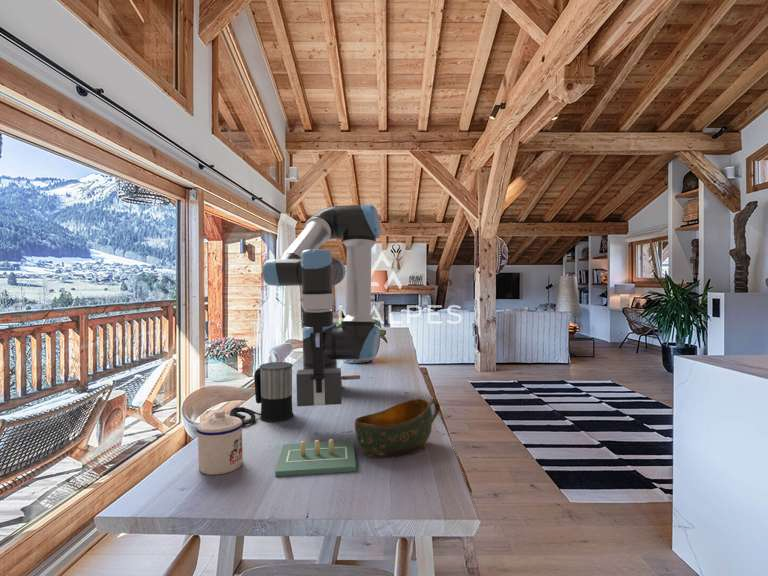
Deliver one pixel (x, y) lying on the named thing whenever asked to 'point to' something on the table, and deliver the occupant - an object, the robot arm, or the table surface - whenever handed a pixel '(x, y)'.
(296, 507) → the table surface
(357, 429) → the green gold gravy boat
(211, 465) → the teacup with lid
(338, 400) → the block
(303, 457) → the pin board
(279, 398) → the milk frother
